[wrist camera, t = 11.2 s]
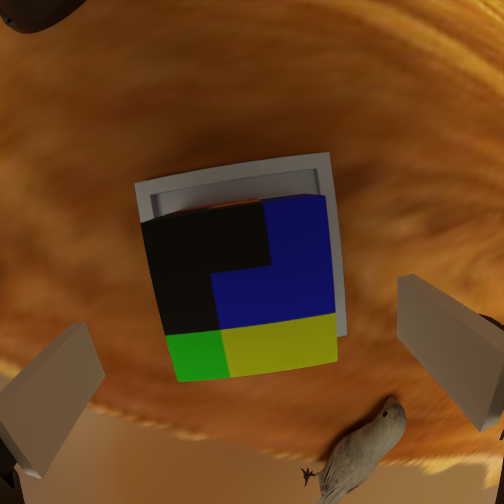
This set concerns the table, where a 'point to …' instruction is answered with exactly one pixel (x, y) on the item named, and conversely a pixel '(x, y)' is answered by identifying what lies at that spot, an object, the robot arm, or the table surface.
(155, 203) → the tray
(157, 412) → the table surface
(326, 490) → the decorative bird
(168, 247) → the puzzle toy
